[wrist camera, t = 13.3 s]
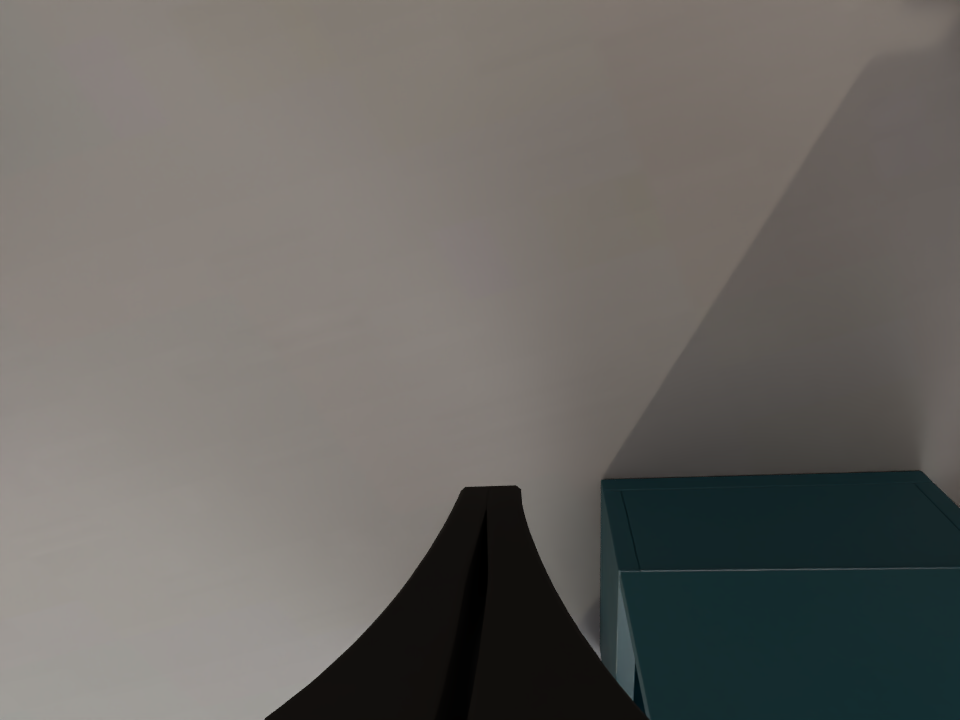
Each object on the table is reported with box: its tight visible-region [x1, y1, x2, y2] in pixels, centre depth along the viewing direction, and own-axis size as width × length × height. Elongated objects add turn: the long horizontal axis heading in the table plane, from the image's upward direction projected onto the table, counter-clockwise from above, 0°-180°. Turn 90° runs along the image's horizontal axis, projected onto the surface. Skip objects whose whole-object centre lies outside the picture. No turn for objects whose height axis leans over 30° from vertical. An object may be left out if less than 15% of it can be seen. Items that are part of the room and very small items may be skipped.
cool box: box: [600, 471, 960, 715], centre depth 25 cm, size 12×14×5 cm
